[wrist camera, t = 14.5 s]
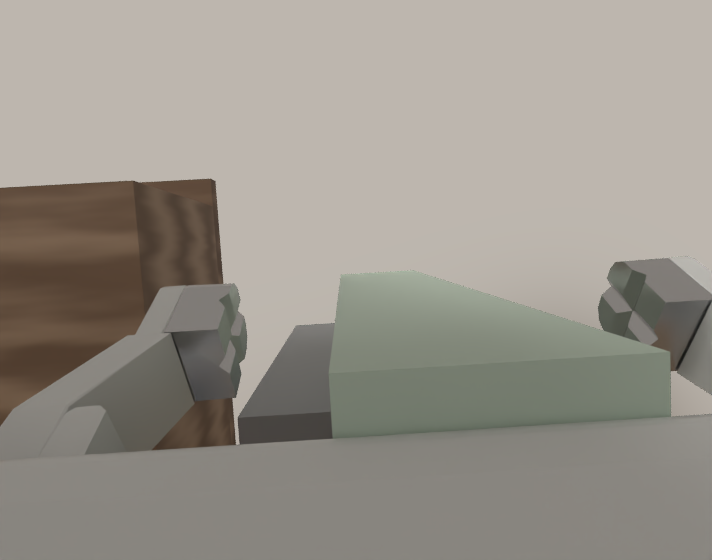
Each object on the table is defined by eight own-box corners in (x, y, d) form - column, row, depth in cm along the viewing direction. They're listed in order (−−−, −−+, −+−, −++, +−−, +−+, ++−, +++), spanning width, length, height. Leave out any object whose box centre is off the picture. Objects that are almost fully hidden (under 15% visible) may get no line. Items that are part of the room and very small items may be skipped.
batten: (672, 595, 6) (669, 351, 5) (344, 619, 6) (329, 373, 5) (416, 324, 26) (413, 270, 25) (344, 328, 25) (340, 274, 25)
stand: (203, 628, 28) (160, 132, 26) (-32, 645, 28) (-94, 145, 26) (260, 474, 47) (238, 181, 45) (122, 483, 47) (93, 189, 44)
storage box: (606, 975, 14) (593, 394, 13) (282, 1003, 14) (237, 417, 13) (471, 599, 29) (459, 315, 28) (315, 610, 29) (296, 325, 27)
